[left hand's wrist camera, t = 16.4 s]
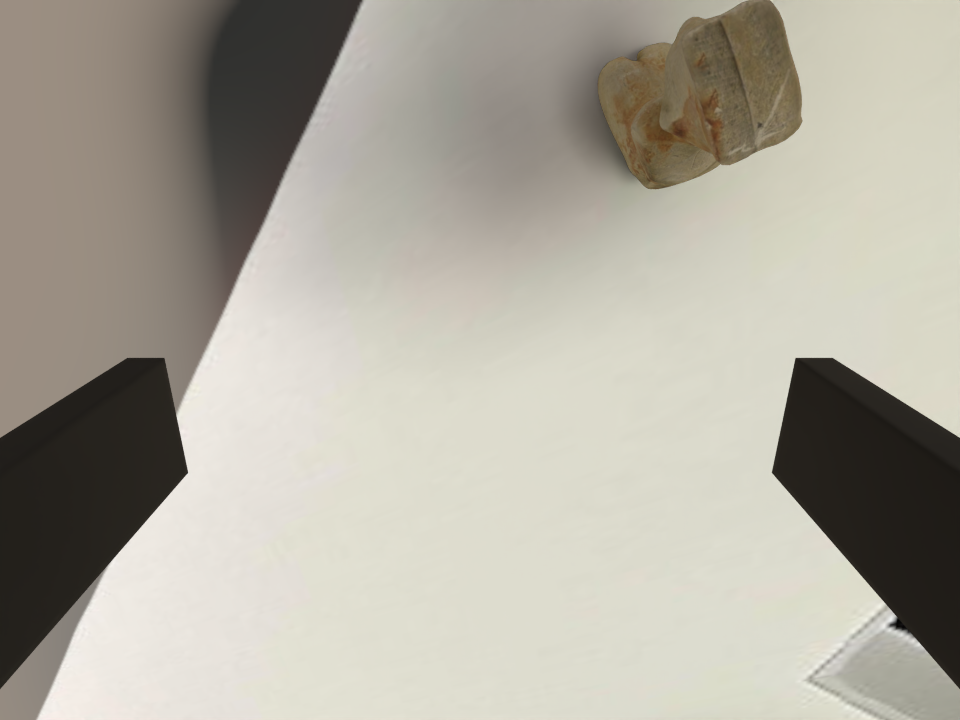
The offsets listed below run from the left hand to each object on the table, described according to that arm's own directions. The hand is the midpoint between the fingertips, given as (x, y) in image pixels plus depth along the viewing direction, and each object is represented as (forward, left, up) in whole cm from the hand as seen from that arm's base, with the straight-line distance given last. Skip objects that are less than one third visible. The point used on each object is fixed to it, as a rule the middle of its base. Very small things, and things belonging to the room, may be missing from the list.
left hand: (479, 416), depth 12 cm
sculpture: (-11, +5, -26) cm, 29 cm away
